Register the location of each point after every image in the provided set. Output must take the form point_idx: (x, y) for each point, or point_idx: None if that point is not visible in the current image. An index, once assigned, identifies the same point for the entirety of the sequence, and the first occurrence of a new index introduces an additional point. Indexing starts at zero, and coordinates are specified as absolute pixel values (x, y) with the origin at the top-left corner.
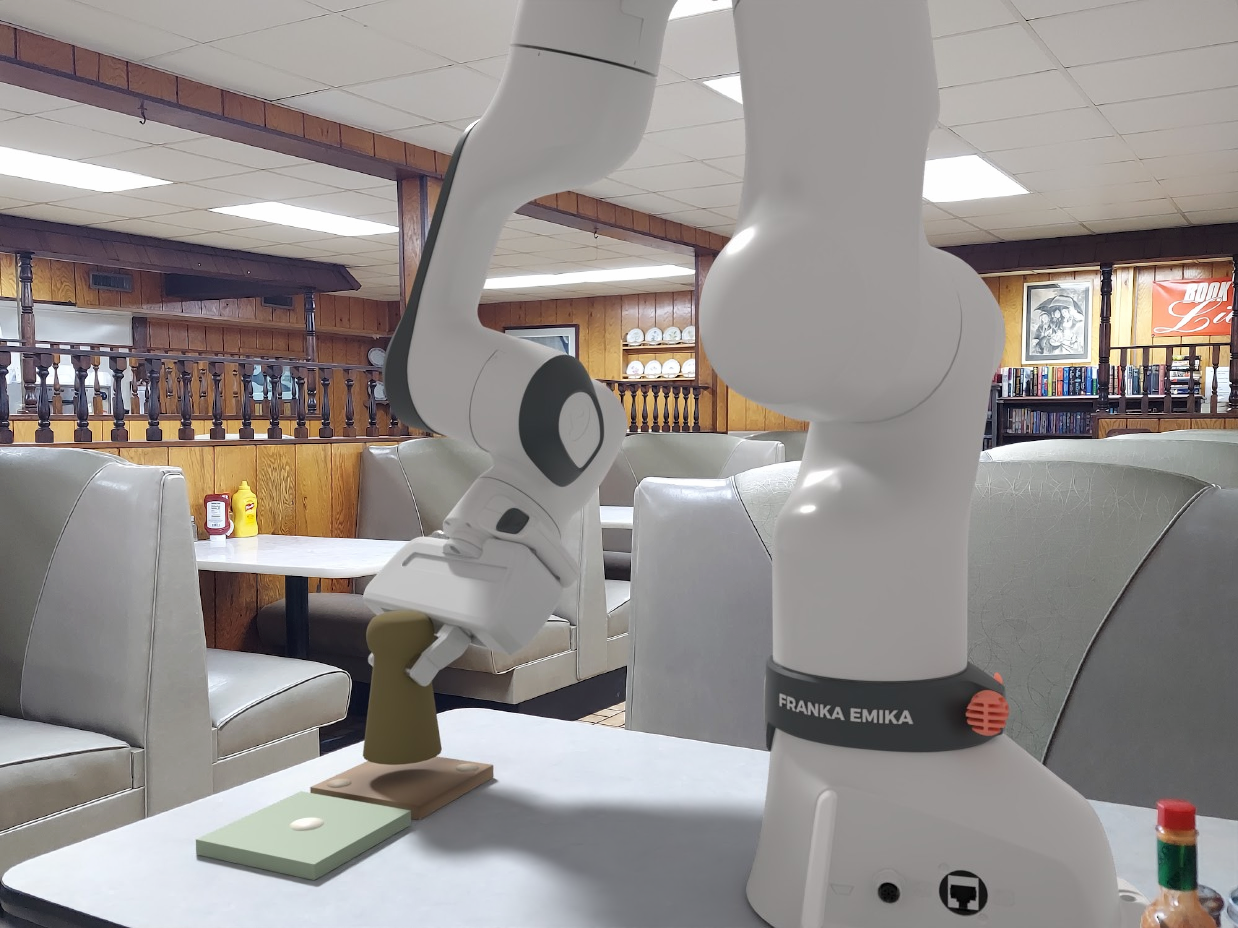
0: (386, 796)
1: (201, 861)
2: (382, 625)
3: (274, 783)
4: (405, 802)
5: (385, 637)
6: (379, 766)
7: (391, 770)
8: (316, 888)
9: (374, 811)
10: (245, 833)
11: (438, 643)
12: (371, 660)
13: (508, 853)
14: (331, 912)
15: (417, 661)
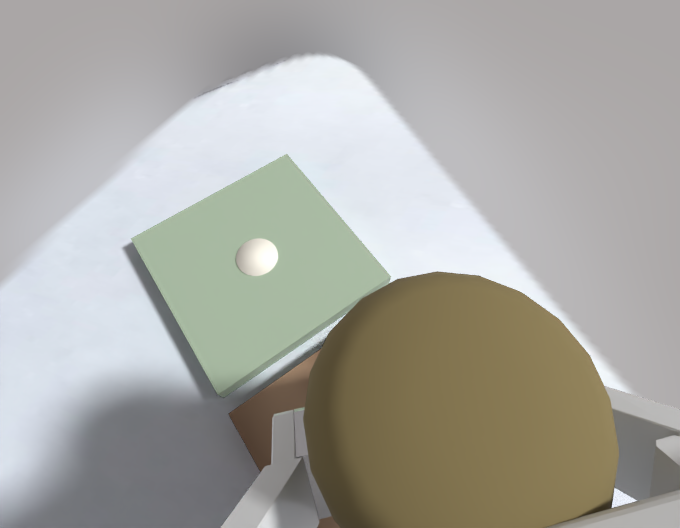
0: (299, 380)
1: None
2: (373, 297)
3: (499, 271)
4: (255, 398)
5: (344, 316)
6: None
7: None
8: (119, 245)
9: (248, 345)
10: (272, 195)
11: (228, 522)
12: None
13: (24, 492)
14: (54, 245)
15: (291, 437)
